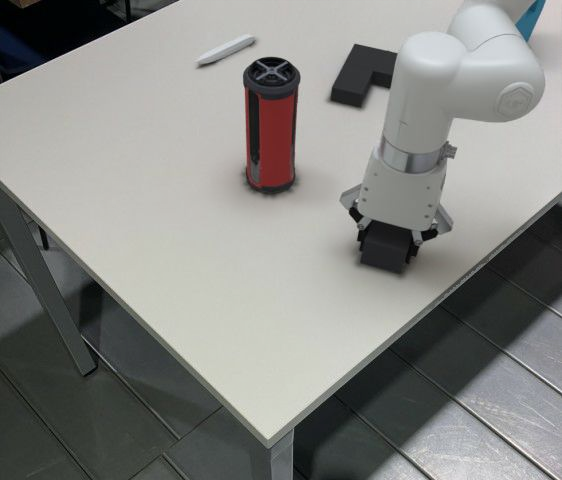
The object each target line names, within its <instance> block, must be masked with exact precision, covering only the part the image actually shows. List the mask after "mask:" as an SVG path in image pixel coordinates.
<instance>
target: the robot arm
mask: <svg viewBox="0 0 562 480" xmlns="http://www.w3.org/2000/svg"><path fill="white" fill-rule="evenodd" d="M535 1H536V0H463V1H462V3H461V4H460V6H459V7H458V9H457V10H456V12H455V13H454V15H453V17H452V19H451V20H450V23H449V25H448V26H447V30H446V32H441V31H433V30H429V31H428V30H427V31H421V32H417V33H415V34H412V35H411V36H408V38H406V39H405V40H404V41H403V43H401V45H400V47H399V49H398V51H397V53H398V54H397V58H396V62H395V67H394V73H393V78H392V83H391V88H389V94H388V100H387V105H386V111H385V115H384V122H383V126H382V131H381V136H380V138H378V139H377V140H376V141H375V143H374V145H373V147H372V150H371V153H370V156H369V158H368V161H367V164H366V168H365V172H364V174H363V179H362V182H361V183H359V184H357V185H355V186H353V187H351V188H350V189H347V190H345V191H343V192H342V193H341V195H340V197H339V200H338V201H339V203H340V204H341V205H342V207H344V209H345V210H347V211H348V215H349V216H350V218H352V220H353V221H354V222H355V223H356V228H357V229H358V231H357V237H356V242H358V243H360V244H359V249H358V252H362V250H363V245H364V241H365V238H366V235H367V233H368V231H369V228H370V226H371V223H372V221H373V219H374V220H378V221H381V222H385V223H388V224H392V225H396V226H400V227H403V228H407V229H411V231H412V238H411V241H410V245H409V249H408V252H407V256H406V259H405V263H404V265H410V262H411V260H412V258H417V256H418V254H419V251H420V248H421V246H422V245H423V244H424V242H428V241H430V240H433V239H436V238H438V236H441V235H444V234H447V233H451V231H452V230H453V228H454V224H455V222H454V220H453V219H452V218H451V216H450V215H449V213H448V212H447V210H446V209H445V208H444V206H443V205H442V204H441V202H440V201H441V198H442V194H443V190H444V186H445V182H446V176H447V169H448V159H452V160H454V159H455V158H456V154H457V151H458V147H457V146H453V145H452V144H450V141H449V140H448V137H449V134H450V131H451V127H452V124H453V121H454V119H461V120H469V121H474V122H475V121H476V122H482V123H483V122H484V123H491V124H492V123H493V124H499V123H508V122H513V121H516V120H519V119H522V118H523V117H525V116H527V115H529V114H530V113H531V112H532V111H533V110H535V108H536V107H537V106H538V105H539V103H540V102H541V100H542V98H543V96H544V93H545V89H546V77H545V73H544V69H543V68H542V65H541V63H540V61H539V59H538V58H537V57H536V55H535V54H534V52H533V51H532V49H531V48H530V46H529V44H528V42H527V43H526V41H525V40H524V38H523V37H522V35H521V34H520V32H519V31H518V29H517V28H516V26H515V24H516V23H517V22H518V20H519V19H520V18H521V17H522V15H523V14H524V13H525V12H526V11H527V10H528V8H529V7H530V6H531V5H532V4H533V3H534V2H535ZM434 220H435V221H436V222H434Z"/></svg>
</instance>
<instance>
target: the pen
mask: <svg viewBox="0 0 562 480" xmlns="http://www.w3.org/2000/svg"><path fill="white" fill-rule="evenodd" d="M255 39H256V36H255V35H254V34H251V33H245V34H242V35H240V36H238V37H236V38H234V39H231V40H229V41H227V42H225V43H223V44H221V45H218V46H216V47H215V48H213V49H210V50H209V51H207V52H205V53H202V54H201V55H200V56H198V57H197V59H196V61H195V63H197V64H203V65H204V64H205V65H206V64H210V63H213V62H215V61H219V60H221V59H224V58H227V57H228V56H230V55H232V54H234V53H236V52H239V51H240V50H242V49H244V48H246V47H249V46H250V45H252V44H253V43H254V42H255Z"/></svg>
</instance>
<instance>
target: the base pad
mask: <svg viewBox="0 0 562 480" xmlns="http://www.w3.org/2000/svg"><path fill="white" fill-rule="evenodd" d="M397 54H398V52H396V51H395V52H394V51H390V50H386V49H382V48H378V47H372V46H368V45H363V44H360V43H359V44H358V43H353V46H352V48H351V50H350V51H349V54H348V55H347V58H346V59H345V61H344V63H343V65H342V67H341V69H340V71H339V73H338V75H337V77H336V79H335V80H334V83H333V84H332V86H331V92H330V101H332V102H336V103H339V104H340V103H341V104H344V105H349V106H353V107H357V108H362V105H363V102H364V101H365V98H366V96H367V94H368V92H369V90H370V87H371V85H374V86H375V85H376V86H380V87H385V88H387V89H391V83H392V78H393V73H394V67H395V62H396V58H397Z"/></svg>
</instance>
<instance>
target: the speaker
mask: <svg viewBox="0 0 562 480" xmlns="http://www.w3.org/2000/svg"><path fill="white" fill-rule="evenodd" d="M242 73H243V74H242V84H243V88H244V111H245V113H244V114H245V145H246V147H245V149H246V151H245V152H246V167H245V179H246V181H247V183H248V184H249V185H250V186H251V187H252V188H254V189H256V190H257V191H260V192H264V193H279V192H282V191H284V190H286V189H289V188H290V187H291V186H292V185H293V184H294V182H295V180H296V166H295V163H296V161H295V160H296V139H297V138H296V137H297V117H298V103H299V86H300V84H301V81H302V80H301V79H302V77H301V72H300V70H299V69H298V68H297V67H296V66H295V65H294V64H293V63H291V61H289V60H288V59H286V58H282V57H279V56H264V57H260V58H258V59H256V60H254V61H253V62H252V63H250V64H249V65H248V66H247V67H245V69H244V70H243V72H242Z"/></svg>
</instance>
